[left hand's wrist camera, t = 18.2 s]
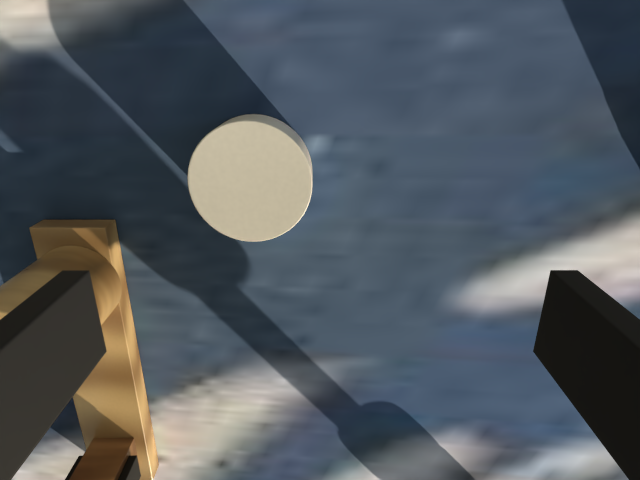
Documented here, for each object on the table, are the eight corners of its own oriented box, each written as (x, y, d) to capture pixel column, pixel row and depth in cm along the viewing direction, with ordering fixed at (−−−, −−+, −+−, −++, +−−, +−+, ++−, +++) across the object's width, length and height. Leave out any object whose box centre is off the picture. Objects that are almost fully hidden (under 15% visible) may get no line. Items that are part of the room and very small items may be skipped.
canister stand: (37, 219, 37) (-84, 287, 25) (121, 219, 37) (38, 287, 26) (98, 465, 47) (31, 589, 36) (163, 464, 47) (117, 588, 36)
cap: (312, 114, 34) (312, 120, 30) (312, 223, 37) (312, 241, 33) (194, 113, 34) (180, 119, 30) (205, 223, 37) (193, 241, 33)
